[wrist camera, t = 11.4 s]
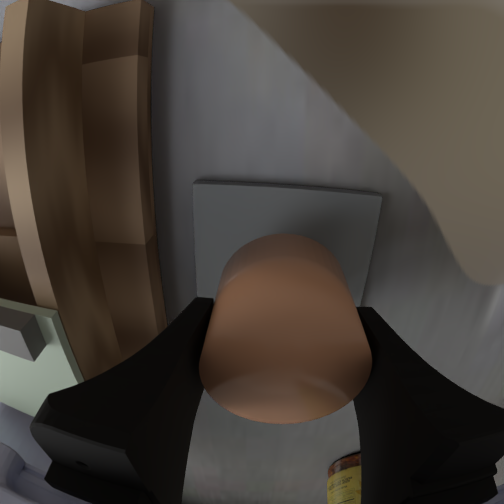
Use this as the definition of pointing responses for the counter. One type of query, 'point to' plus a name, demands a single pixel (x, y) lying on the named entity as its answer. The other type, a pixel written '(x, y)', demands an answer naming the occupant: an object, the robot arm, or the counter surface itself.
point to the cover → (33, 356)
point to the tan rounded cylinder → (284, 334)
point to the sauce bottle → (345, 481)
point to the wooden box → (80, 175)
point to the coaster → (282, 225)
